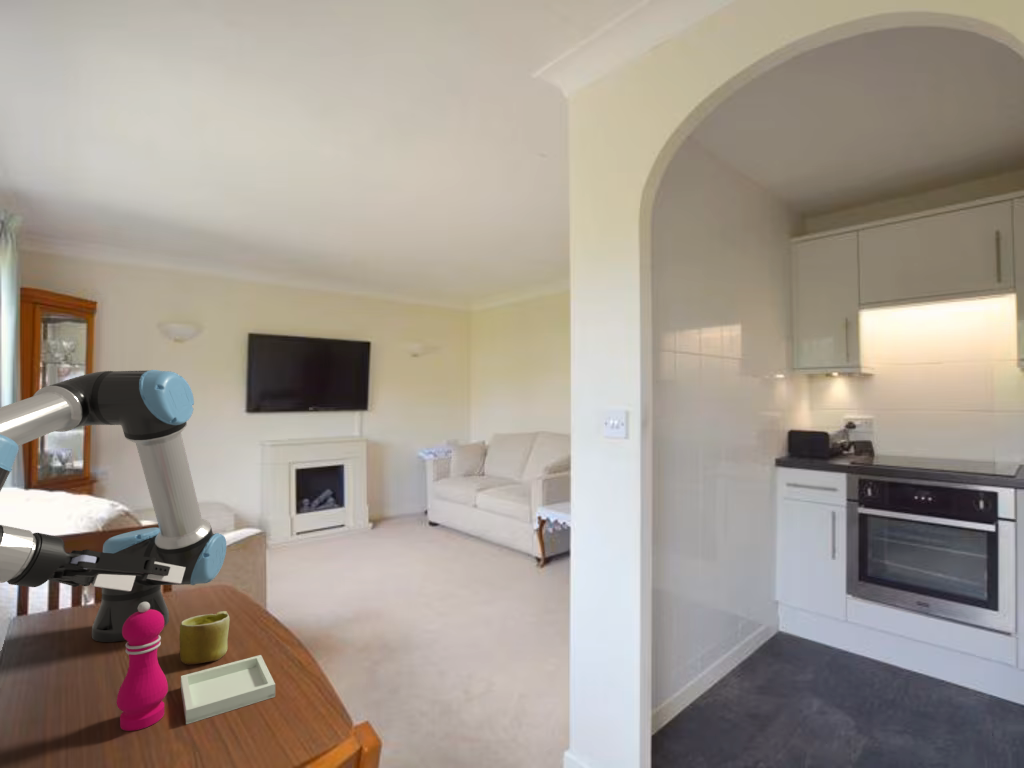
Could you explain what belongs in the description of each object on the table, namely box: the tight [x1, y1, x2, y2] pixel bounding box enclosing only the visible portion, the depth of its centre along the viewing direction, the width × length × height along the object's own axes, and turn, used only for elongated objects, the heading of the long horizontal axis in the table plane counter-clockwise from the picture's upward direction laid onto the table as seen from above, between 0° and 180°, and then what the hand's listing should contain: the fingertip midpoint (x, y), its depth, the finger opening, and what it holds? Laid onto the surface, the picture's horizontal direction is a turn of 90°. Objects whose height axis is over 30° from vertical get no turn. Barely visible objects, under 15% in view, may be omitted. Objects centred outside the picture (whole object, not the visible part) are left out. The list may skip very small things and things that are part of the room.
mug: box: [178, 610, 231, 665], centre depth 114 cm, size 12×10×10 cm
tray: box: [180, 654, 276, 725], centre depth 99 cm, size 14×14×2 cm
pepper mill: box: [116, 602, 169, 732], centre depth 91 cm, size 7×7×20 cm
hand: (156, 579), depth 95 cm, fingers open, 13 cm apart
